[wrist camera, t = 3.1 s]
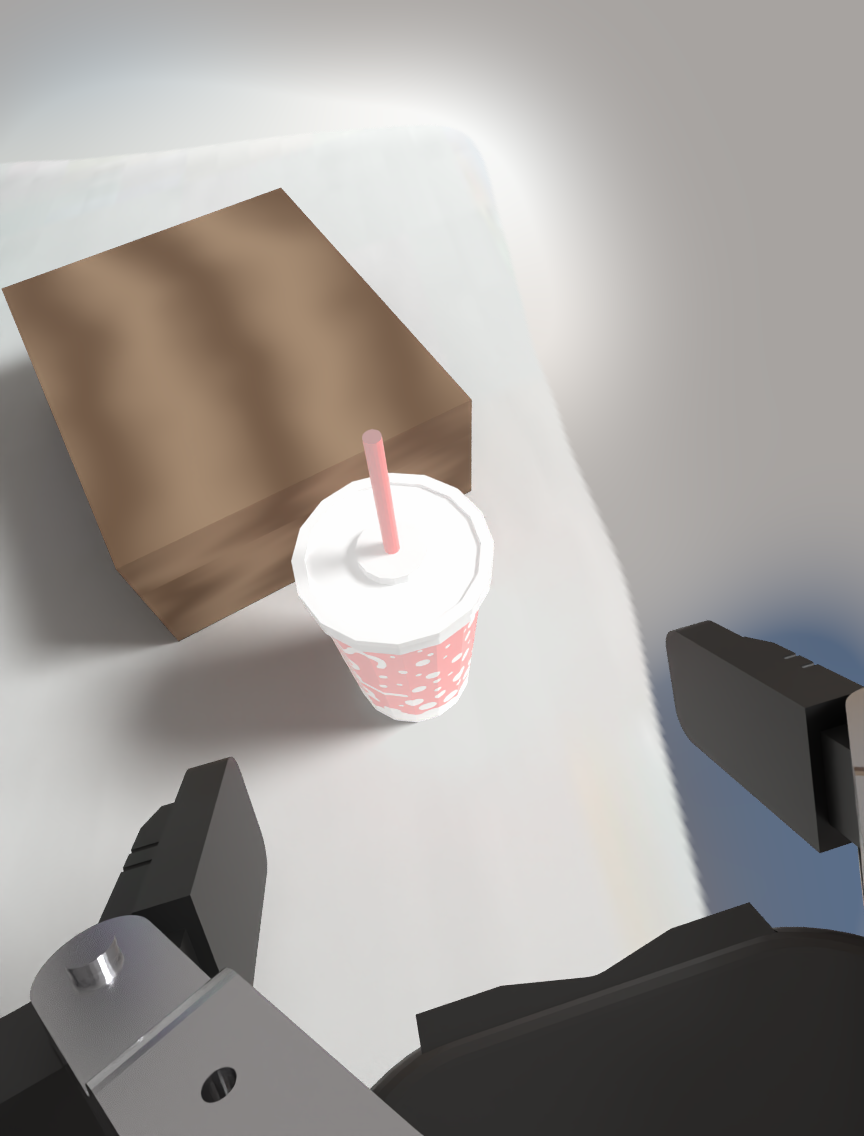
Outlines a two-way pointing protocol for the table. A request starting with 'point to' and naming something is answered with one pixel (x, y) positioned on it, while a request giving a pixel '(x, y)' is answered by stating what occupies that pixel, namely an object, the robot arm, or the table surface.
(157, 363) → the walnut shelf stand
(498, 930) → the table surface
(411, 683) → the beverage cup
